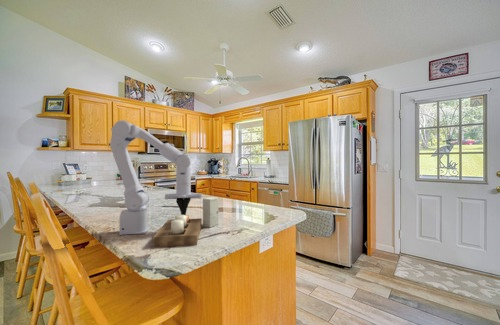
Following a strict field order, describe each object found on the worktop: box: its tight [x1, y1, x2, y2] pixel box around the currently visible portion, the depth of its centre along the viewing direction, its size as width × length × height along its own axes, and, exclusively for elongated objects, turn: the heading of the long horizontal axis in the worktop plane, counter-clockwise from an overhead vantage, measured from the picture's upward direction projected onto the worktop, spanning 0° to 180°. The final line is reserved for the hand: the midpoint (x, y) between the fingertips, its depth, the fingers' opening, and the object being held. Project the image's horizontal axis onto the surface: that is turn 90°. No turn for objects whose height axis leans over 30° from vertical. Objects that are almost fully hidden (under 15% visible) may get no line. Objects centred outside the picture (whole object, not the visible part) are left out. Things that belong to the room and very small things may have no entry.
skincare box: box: [202, 196, 219, 228], centre depth 95 cm, size 6×4×12 cm
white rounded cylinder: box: [171, 219, 184, 234], centre depth 76 cm, size 4×4×4 cm
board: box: [152, 217, 203, 248], centre depth 83 cm, size 14×22×3 cm, turn 9°
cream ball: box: [174, 214, 187, 227], centre depth 83 cm, size 4×4×4 cm
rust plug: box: [186, 214, 190, 223], centre depth 90 cm, size 4×4×4 cm
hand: (183, 216), depth 90 cm, fingers closed, pressing on rust plug
